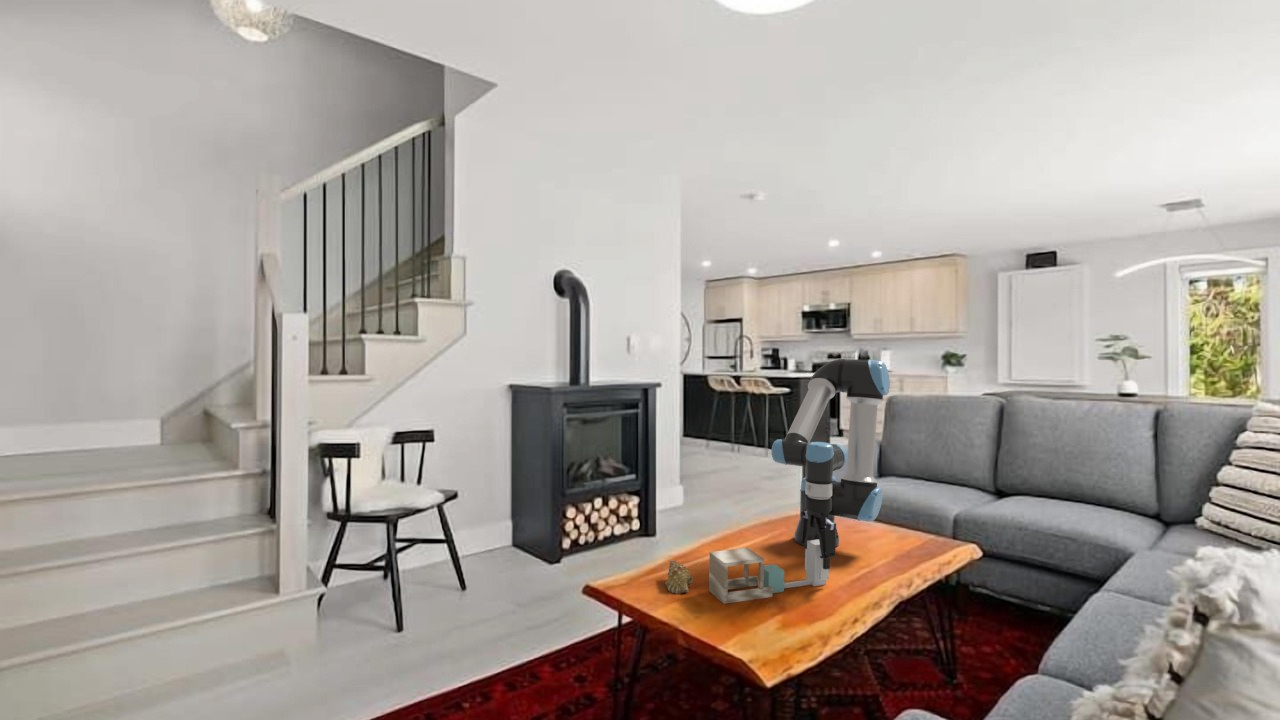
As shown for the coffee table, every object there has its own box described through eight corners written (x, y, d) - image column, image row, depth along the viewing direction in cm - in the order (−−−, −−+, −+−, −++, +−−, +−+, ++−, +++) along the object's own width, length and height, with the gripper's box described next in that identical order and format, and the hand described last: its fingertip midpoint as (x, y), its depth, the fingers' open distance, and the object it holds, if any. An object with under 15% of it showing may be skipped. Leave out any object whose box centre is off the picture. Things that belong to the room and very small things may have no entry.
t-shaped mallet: (816, 578, 182) (817, 538, 181) (827, 585, 177) (828, 544, 177) (759, 586, 175) (759, 545, 175) (768, 593, 170) (769, 551, 170)
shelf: (755, 584, 177) (756, 546, 177) (772, 596, 168) (773, 557, 168) (708, 590, 172) (709, 551, 171) (723, 603, 163) (724, 563, 163)
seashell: (658, 597, 175) (656, 560, 179) (683, 597, 178) (680, 561, 183) (674, 592, 167) (671, 555, 172) (699, 593, 171) (696, 556, 175)
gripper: (788, 489, 186) (786, 564, 186) (828, 505, 167) (826, 589, 168) (809, 487, 188) (807, 562, 189) (851, 503, 170) (848, 585, 171)
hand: (816, 574), depth 179 cm, fingers open, 6 cm apart
